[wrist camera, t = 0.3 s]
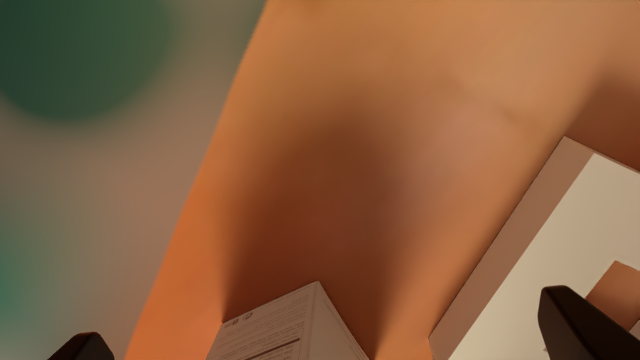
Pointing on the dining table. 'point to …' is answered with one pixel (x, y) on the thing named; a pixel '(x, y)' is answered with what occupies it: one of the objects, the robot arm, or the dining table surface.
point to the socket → (545, 255)
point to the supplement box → (288, 331)
